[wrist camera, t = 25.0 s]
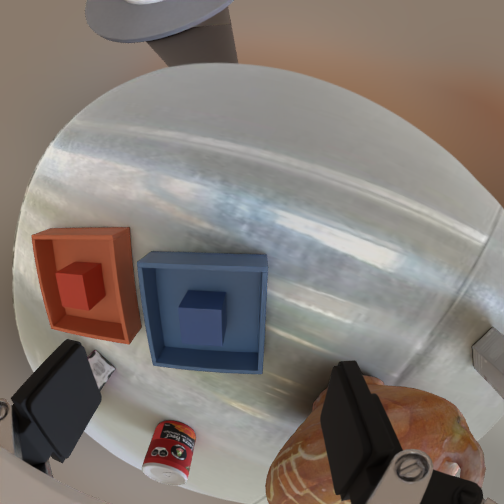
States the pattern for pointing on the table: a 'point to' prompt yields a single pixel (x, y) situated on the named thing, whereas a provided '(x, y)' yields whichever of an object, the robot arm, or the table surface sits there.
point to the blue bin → (205, 279)
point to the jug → (408, 433)
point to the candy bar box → (100, 368)
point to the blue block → (203, 318)
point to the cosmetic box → (490, 359)
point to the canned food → (170, 453)
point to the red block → (81, 285)
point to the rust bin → (114, 276)
